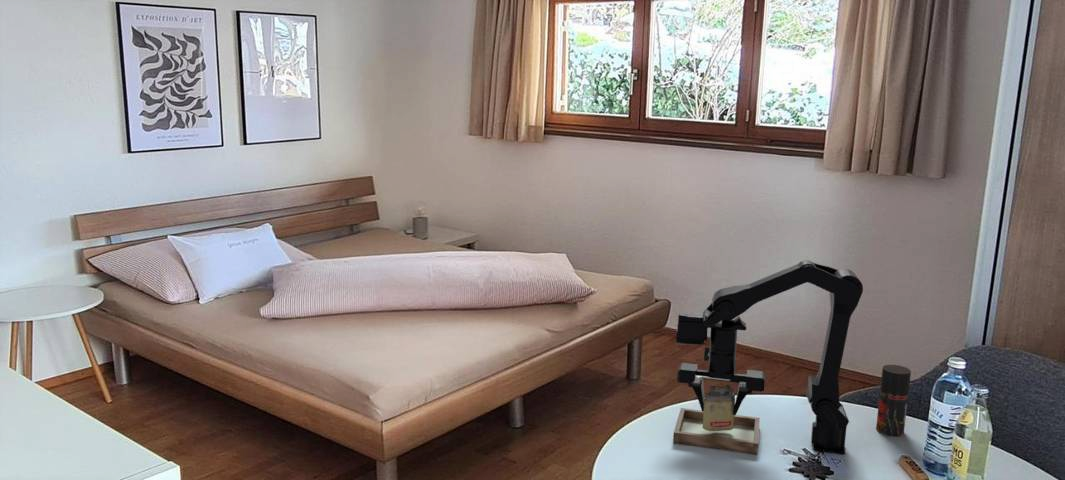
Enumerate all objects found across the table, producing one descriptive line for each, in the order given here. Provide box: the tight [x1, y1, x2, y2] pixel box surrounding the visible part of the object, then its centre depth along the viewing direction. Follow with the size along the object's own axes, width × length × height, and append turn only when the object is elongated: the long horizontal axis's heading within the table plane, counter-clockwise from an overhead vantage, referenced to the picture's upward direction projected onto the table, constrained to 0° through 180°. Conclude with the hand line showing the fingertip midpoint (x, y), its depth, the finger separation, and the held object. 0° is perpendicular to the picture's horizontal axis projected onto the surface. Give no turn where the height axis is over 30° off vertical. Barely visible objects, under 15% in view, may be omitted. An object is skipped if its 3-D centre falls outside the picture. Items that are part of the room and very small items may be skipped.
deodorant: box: [875, 364, 912, 438], centre depth 193 cm, size 6×6×15 cm
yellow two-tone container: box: [702, 384, 736, 431], centre depth 189 cm, size 7×4×10 cm, turn 99°
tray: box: [672, 407, 761, 456], centre depth 190 cm, size 18×14×3 cm
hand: (718, 412), depth 190 cm, fingers closed on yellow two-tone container, 7 cm apart
